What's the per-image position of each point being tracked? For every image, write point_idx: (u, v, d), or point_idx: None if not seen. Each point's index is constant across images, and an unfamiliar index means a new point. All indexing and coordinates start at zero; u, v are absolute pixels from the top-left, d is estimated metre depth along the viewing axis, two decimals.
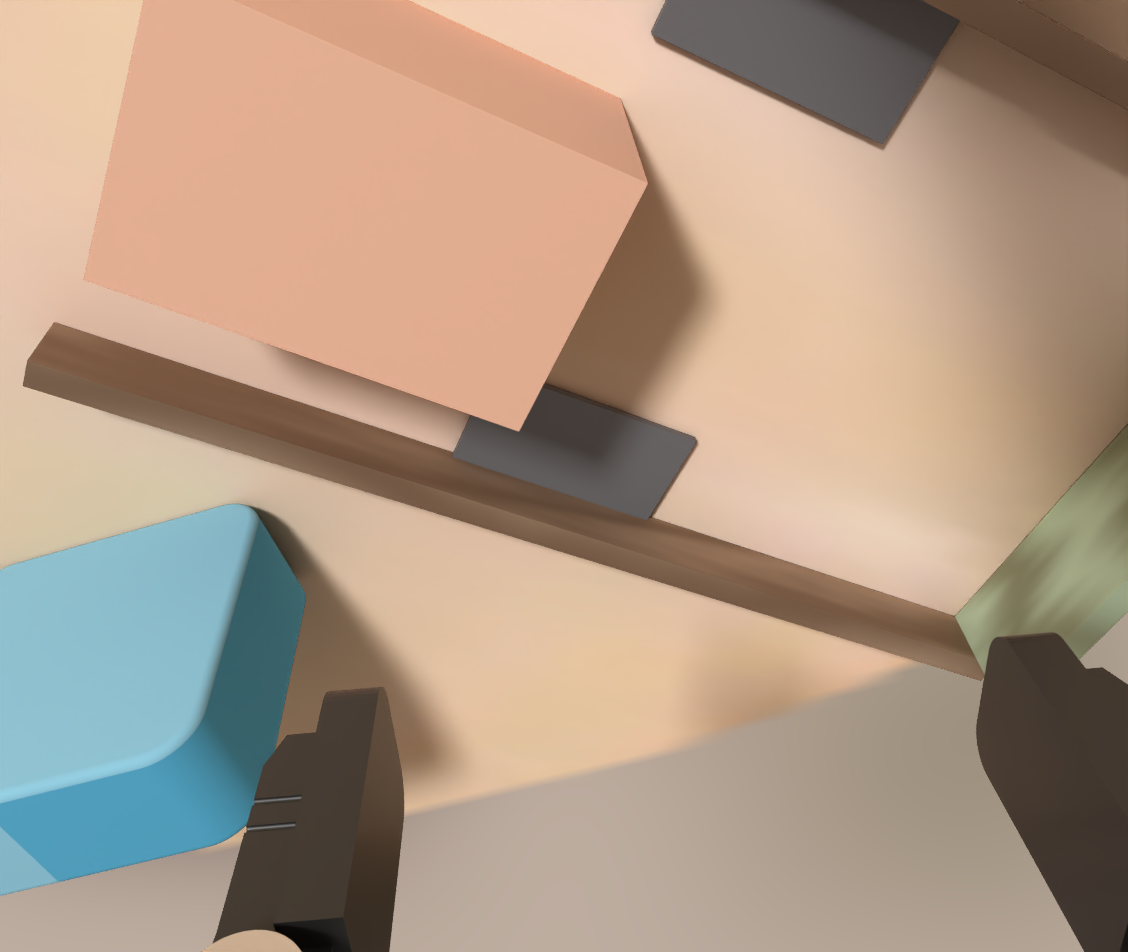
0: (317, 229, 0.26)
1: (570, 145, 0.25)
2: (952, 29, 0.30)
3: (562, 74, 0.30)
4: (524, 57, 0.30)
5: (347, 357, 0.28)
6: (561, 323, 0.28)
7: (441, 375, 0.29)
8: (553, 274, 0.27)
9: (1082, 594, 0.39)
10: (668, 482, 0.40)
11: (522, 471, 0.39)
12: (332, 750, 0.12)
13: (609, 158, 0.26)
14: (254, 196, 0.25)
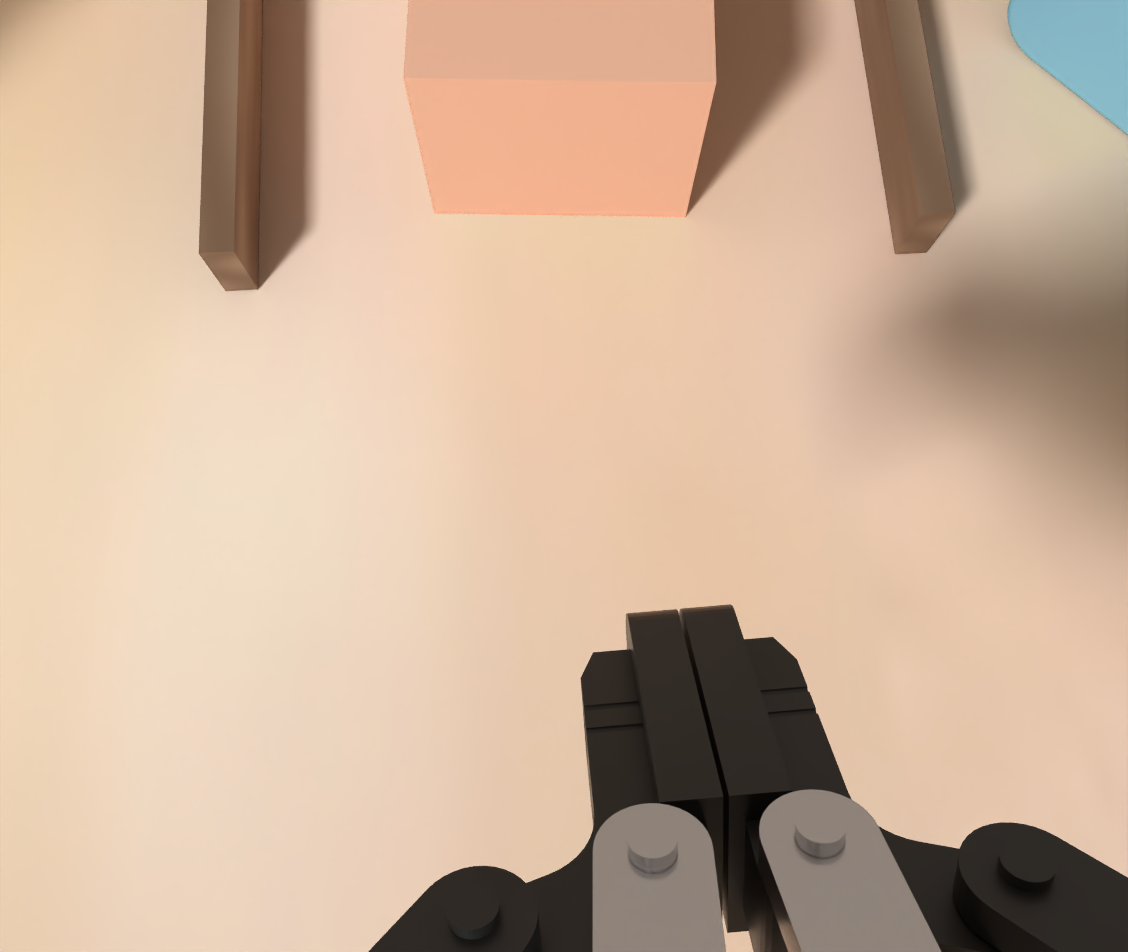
0: None
1: None
2: None
3: None
4: None
5: None
6: None
7: None
8: None
9: None
10: None
11: None
12: (655, 661, 0.13)
13: None
14: None
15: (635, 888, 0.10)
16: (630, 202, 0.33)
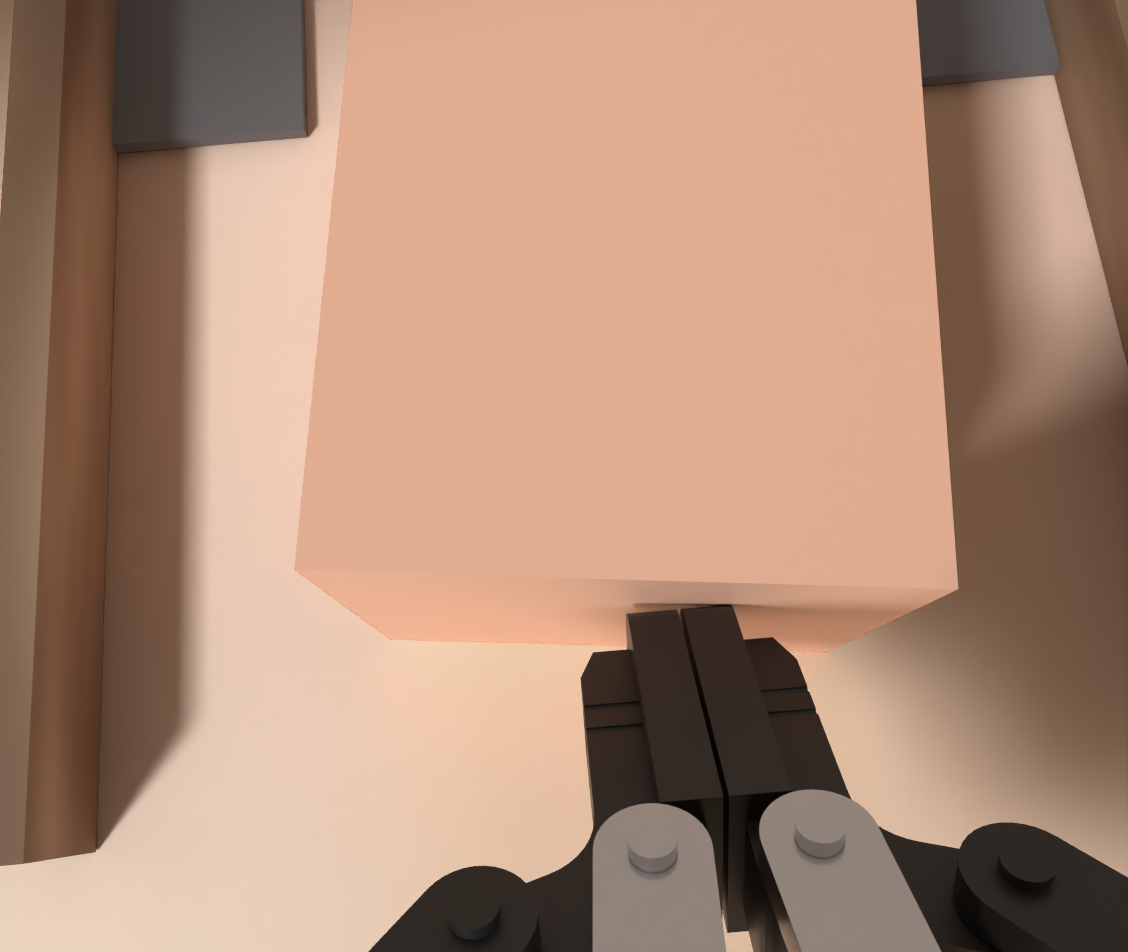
0: (656, 211, 0.14)
1: None
2: None
3: None
4: None
5: (892, 100, 0.14)
6: None
7: None
8: None
9: None
10: None
11: None
12: (655, 661, 0.13)
13: None
14: (640, 325, 0.14)
15: (635, 888, 0.10)
16: None
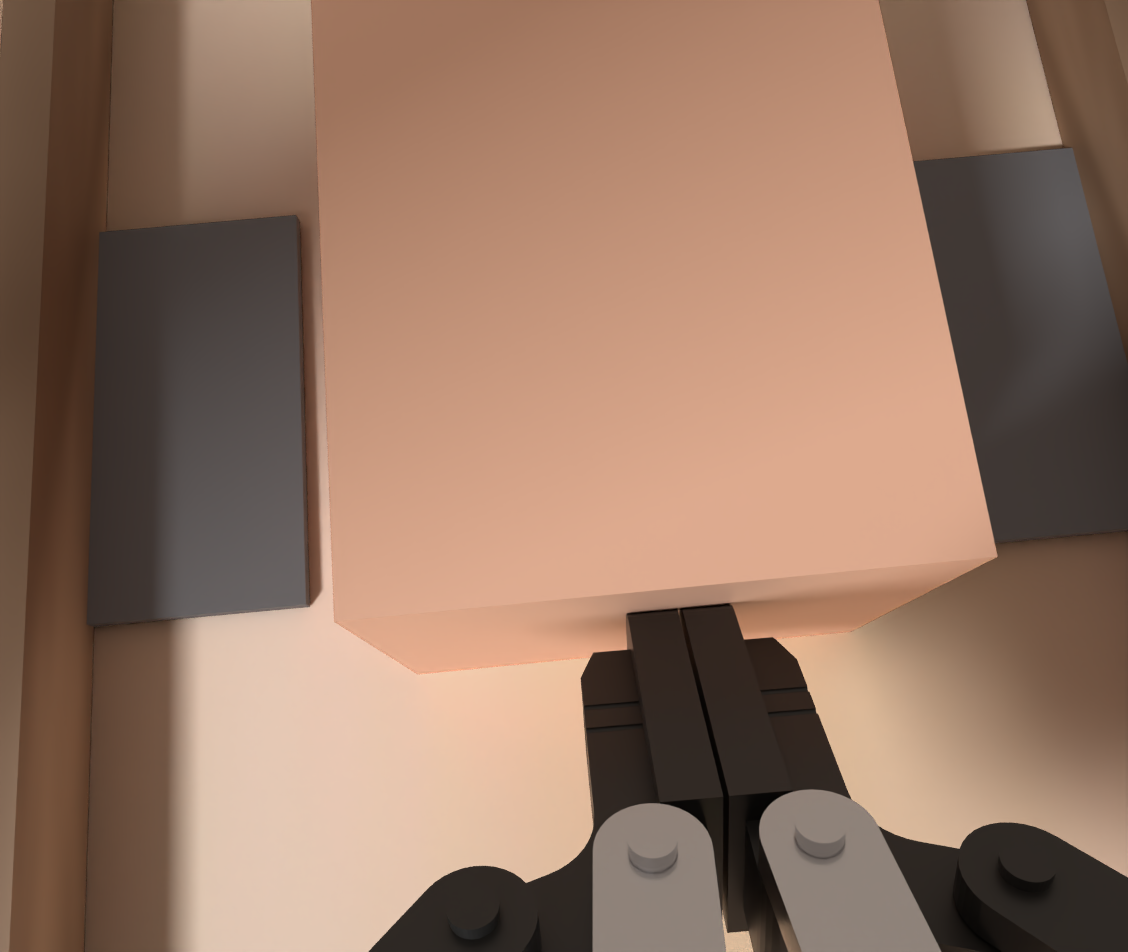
0: (648, 216, 0.14)
1: None
2: (121, 232, 0.21)
3: None
4: None
5: (864, 79, 0.14)
6: None
7: None
8: None
9: None
10: (979, 159, 0.22)
11: (1116, 394, 0.20)
12: (655, 661, 0.13)
13: None
14: (648, 332, 0.13)
15: (635, 888, 0.10)
16: (762, 634, 0.18)
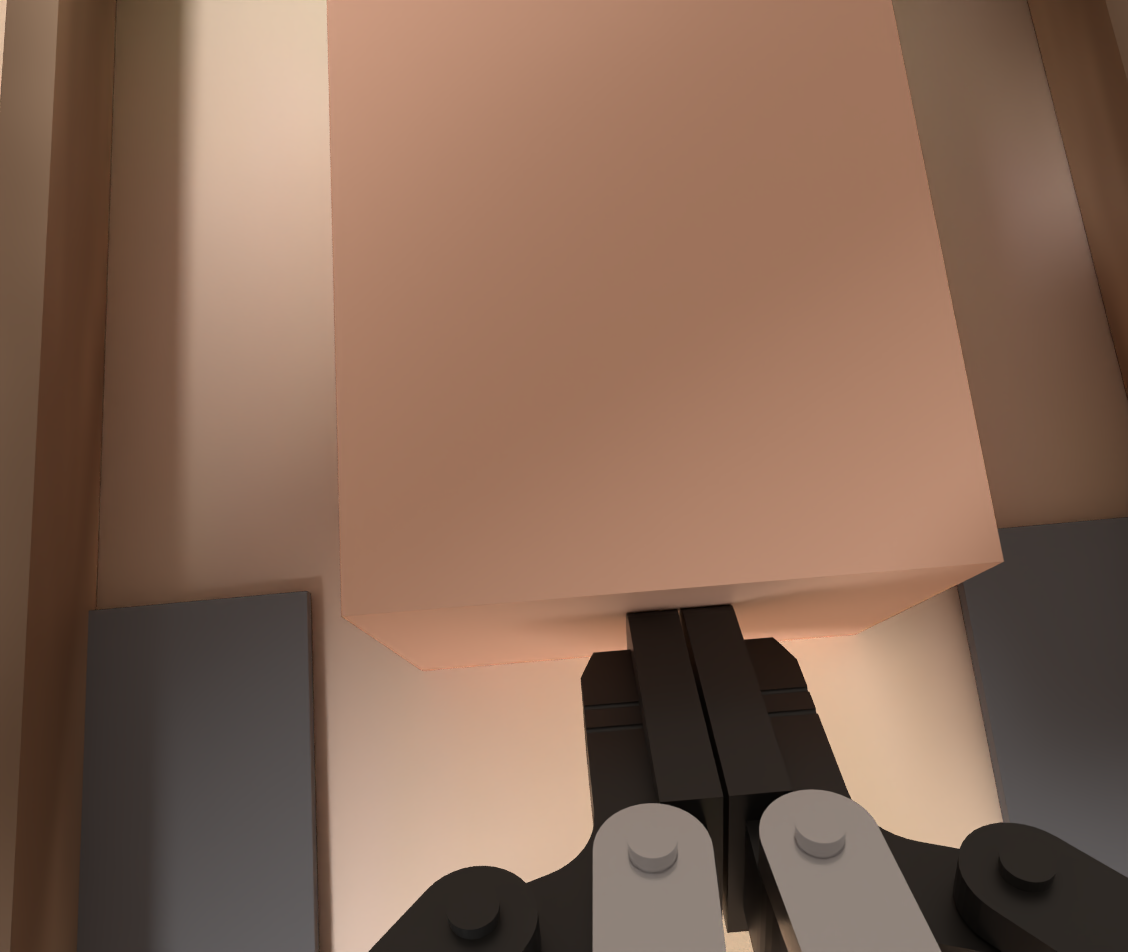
0: (660, 217, 0.14)
1: None
2: (112, 609, 0.19)
3: None
4: None
5: (877, 83, 0.14)
6: None
7: None
8: None
9: None
10: (1063, 527, 0.19)
11: None
12: (655, 661, 0.13)
13: None
14: (657, 332, 0.14)
15: (635, 888, 0.10)
16: (766, 635, 0.18)
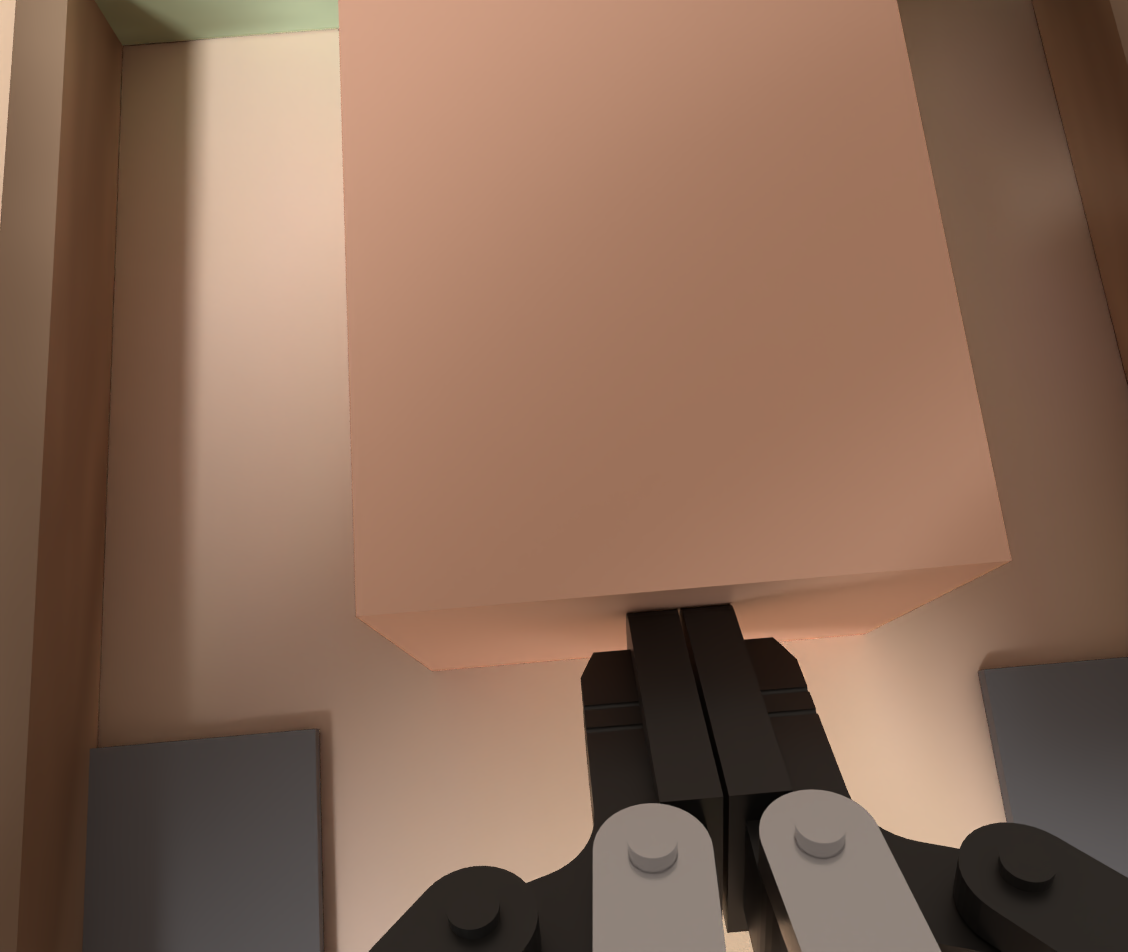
0: (668, 220, 0.14)
1: None
2: (114, 747, 0.19)
3: None
4: None
5: (883, 87, 0.15)
6: None
7: None
8: None
9: None
10: (1098, 664, 0.19)
11: None
12: (655, 661, 0.13)
13: None
14: (667, 335, 0.14)
15: (635, 888, 0.10)
16: (775, 636, 0.18)
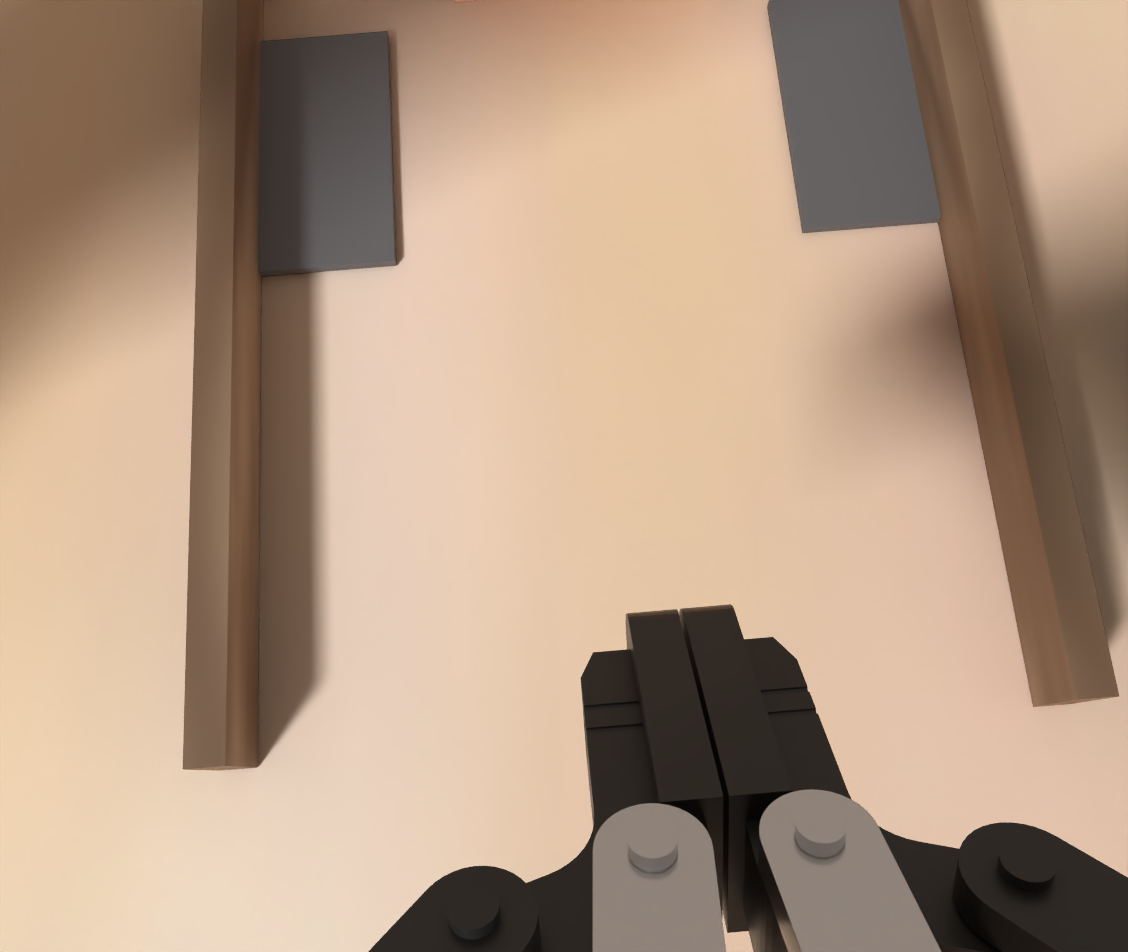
0: None
1: None
2: (273, 42, 0.33)
3: None
4: None
5: None
6: None
7: None
8: None
9: None
10: None
11: (914, 140, 0.31)
12: (654, 661, 0.13)
13: None
14: None
15: (635, 888, 0.10)
16: None
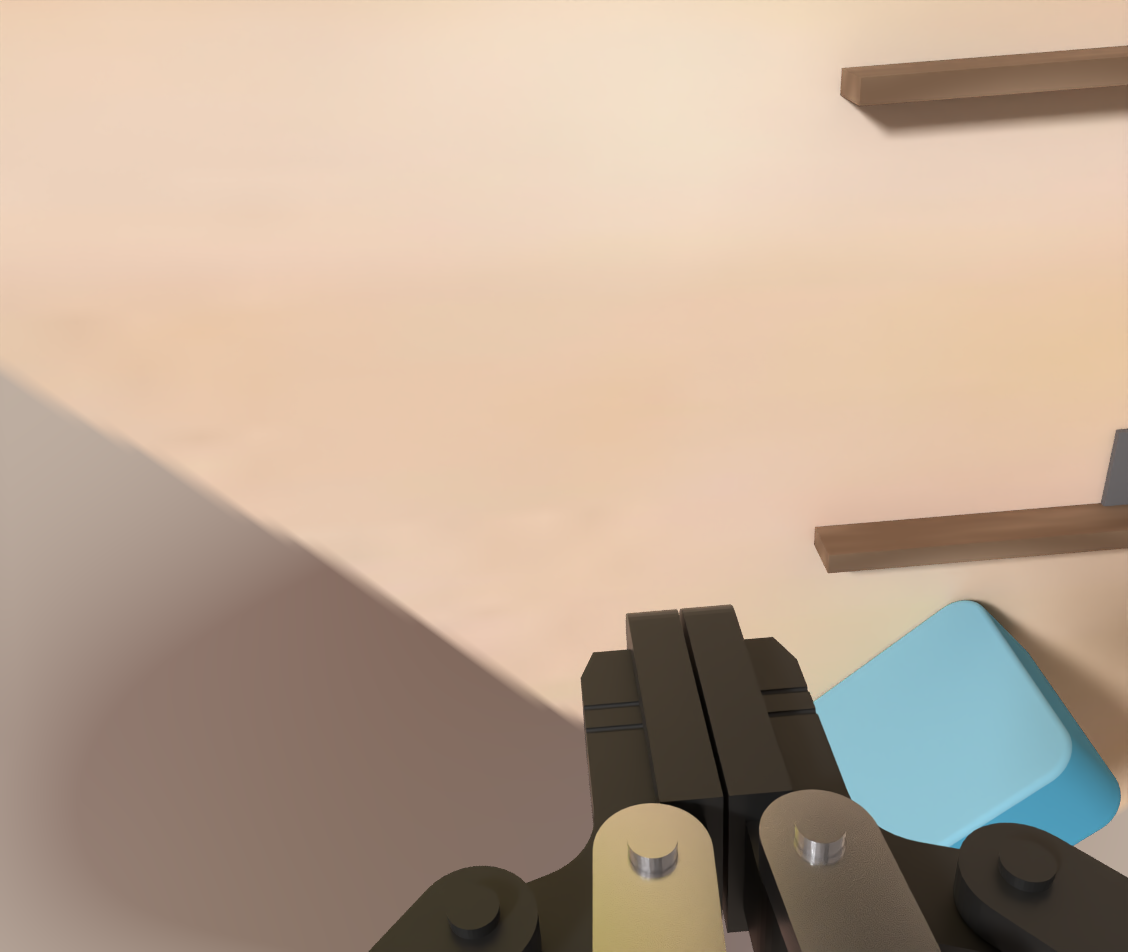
0: None
1: None
2: None
3: None
4: None
5: None
6: None
7: None
8: None
9: None
10: None
11: None
12: (655, 661, 0.13)
13: None
14: None
15: (635, 888, 0.10)
16: None
